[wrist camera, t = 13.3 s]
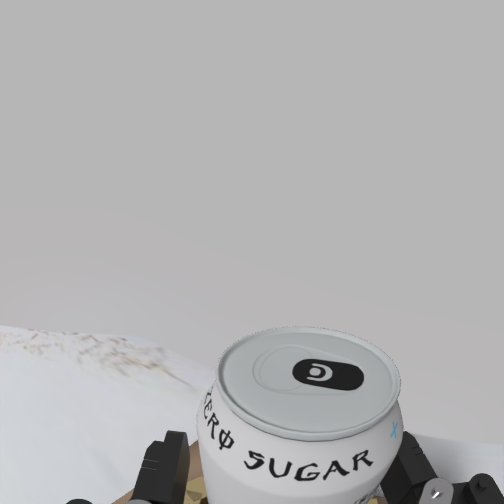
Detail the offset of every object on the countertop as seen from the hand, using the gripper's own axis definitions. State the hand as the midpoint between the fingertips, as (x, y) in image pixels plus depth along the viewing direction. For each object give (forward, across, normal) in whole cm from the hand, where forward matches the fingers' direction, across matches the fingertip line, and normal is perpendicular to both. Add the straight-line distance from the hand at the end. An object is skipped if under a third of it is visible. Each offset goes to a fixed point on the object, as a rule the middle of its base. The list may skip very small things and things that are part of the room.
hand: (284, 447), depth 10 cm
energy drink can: (-2, 0, +10) cm, 10 cm away
